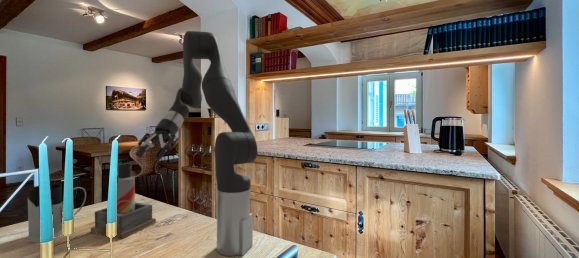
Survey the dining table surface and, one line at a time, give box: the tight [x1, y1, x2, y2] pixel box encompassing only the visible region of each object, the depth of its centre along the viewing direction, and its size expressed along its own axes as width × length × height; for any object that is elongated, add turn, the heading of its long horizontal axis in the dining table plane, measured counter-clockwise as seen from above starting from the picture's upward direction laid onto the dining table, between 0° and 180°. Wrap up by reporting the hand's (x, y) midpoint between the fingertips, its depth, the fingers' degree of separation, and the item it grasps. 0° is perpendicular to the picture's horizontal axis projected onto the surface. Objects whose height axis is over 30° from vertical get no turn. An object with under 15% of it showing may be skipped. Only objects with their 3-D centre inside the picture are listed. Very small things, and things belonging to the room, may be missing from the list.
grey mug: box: [26, 183, 87, 243], centre depth 83 cm, size 9×14×15 cm, turn 130°
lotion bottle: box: [117, 162, 136, 215], centre depth 88 cm, size 6×6×20 cm
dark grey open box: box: [90, 201, 157, 240], centre depth 88 cm, size 13×13×6 cm
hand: (147, 157), depth 96 cm, fingers open, 8 cm apart
